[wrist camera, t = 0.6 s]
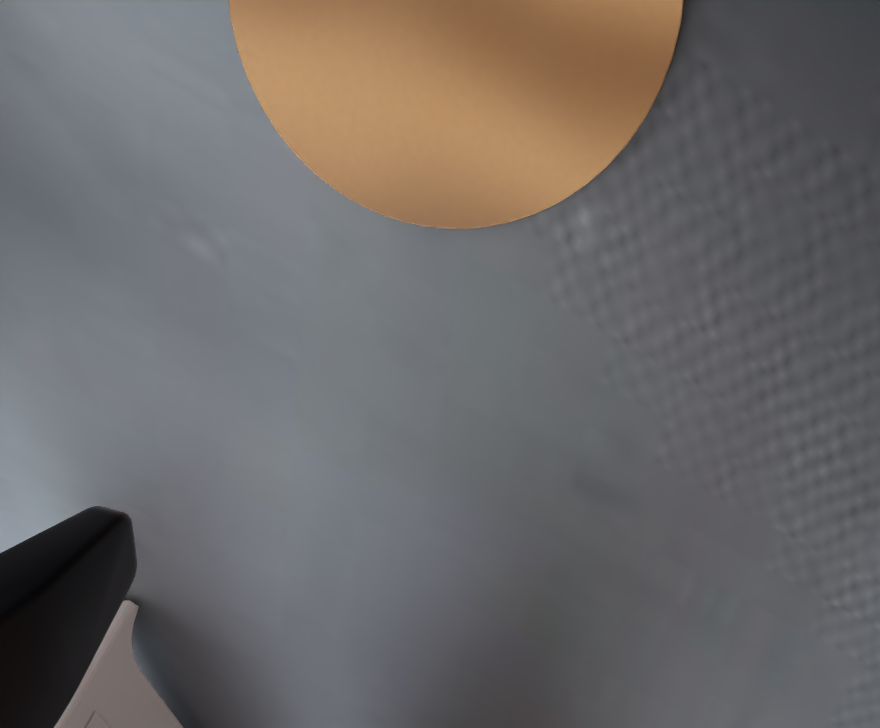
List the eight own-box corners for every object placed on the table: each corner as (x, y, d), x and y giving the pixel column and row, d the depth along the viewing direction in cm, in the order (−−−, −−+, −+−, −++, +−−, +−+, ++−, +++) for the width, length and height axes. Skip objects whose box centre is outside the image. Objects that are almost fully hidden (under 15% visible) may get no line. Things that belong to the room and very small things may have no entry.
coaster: (640, 248, 21) (640, 254, 21) (246, 200, 23) (240, 204, 23) (732, -278, 16) (735, -283, 16) (216, -286, 18) (208, -290, 18)
